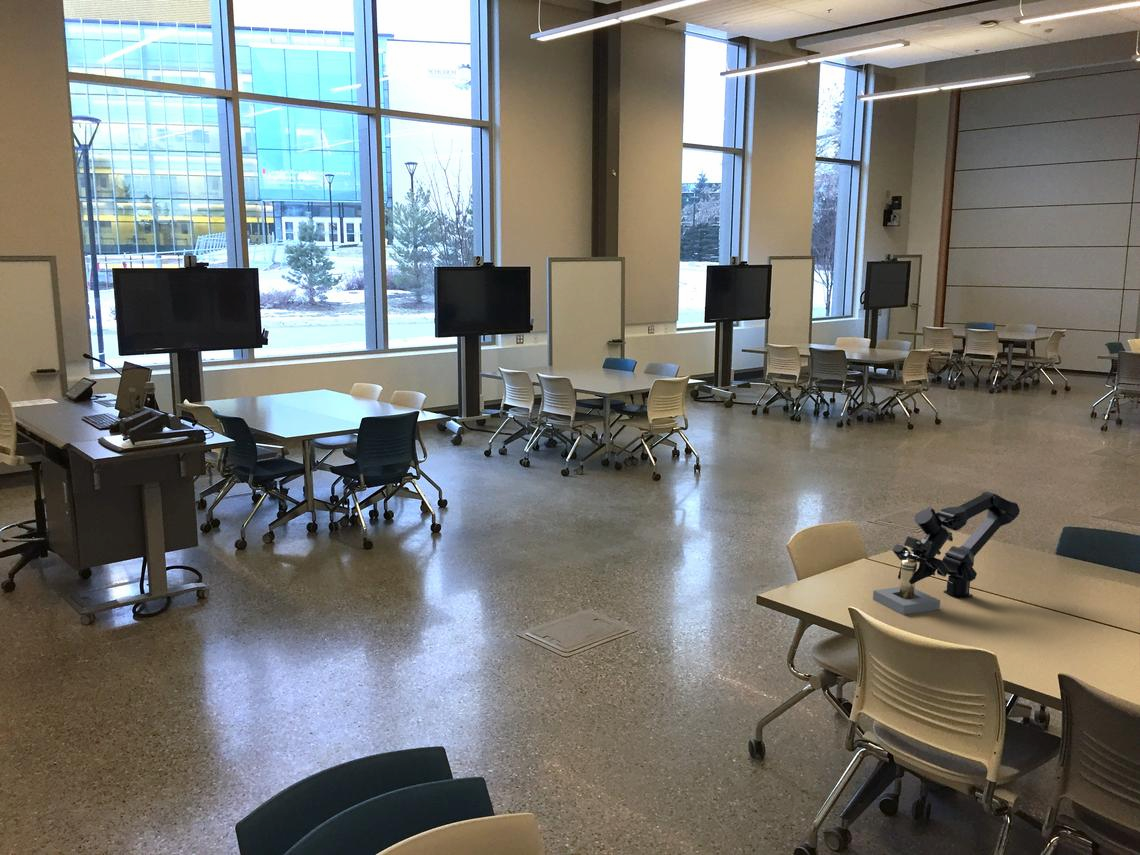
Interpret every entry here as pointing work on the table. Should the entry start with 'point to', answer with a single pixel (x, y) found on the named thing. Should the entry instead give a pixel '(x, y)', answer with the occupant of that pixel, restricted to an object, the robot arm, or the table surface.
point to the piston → (907, 578)
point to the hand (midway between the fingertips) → (904, 580)
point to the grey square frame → (906, 601)
